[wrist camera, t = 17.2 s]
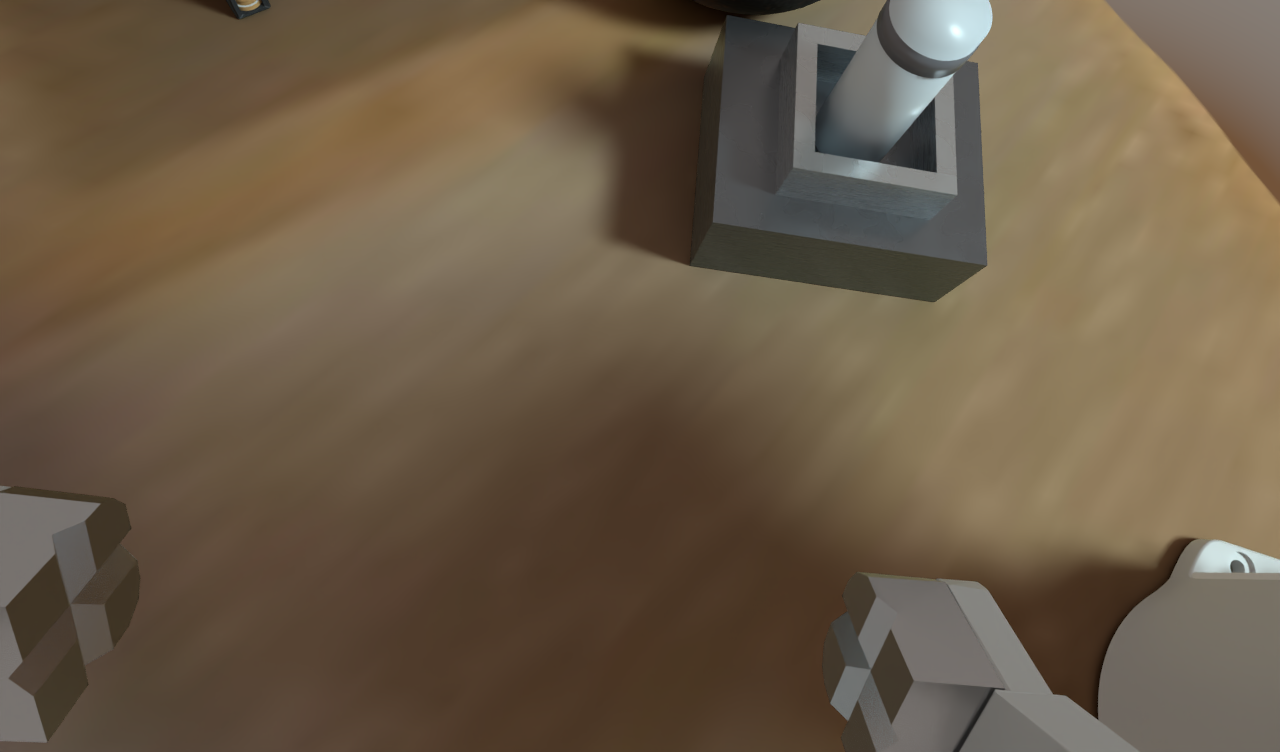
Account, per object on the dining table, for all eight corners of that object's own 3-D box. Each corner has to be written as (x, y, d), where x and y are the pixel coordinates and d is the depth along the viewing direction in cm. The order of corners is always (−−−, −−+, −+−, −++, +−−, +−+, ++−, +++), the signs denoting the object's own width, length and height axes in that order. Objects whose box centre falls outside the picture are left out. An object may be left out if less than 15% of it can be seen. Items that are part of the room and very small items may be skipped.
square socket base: (929, 118, 46) (1006, 30, 39) (934, 302, 42) (1019, 243, 35) (704, 77, 44) (740, -23, 37) (689, 265, 41) (726, 195, 33)
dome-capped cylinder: (887, 108, 39) (991, -26, 31) (888, 178, 38) (995, 58, 30) (811, 94, 39) (895, -47, 30) (810, 165, 38) (896, 39, 29)
